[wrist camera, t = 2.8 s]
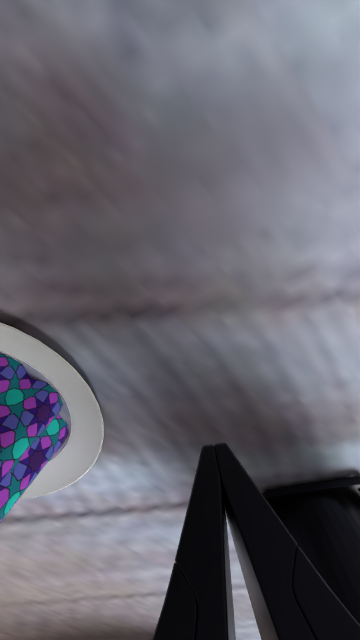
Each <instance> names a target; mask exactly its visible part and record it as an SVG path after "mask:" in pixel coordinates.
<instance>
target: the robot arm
mask: <svg viewBox="0 0 360 640" xmlns="http://www.w3.org/2000/svg"><path fill="white" fill-rule="evenodd" d="M225 511H226V513H225ZM226 516H227V519H228V523H229V527H230V530H231V534H232V537H233V541H234V545H235V548H236V552H237V555H238V559H239V562H240V566H241V569H242V573H243V576H244V580H245V583H246V587H247V590H248V594H249V597H250V601H251V604H252V608H253V611H254V615H255V618H256V622H257V625H258V629H259V632H260V636H261V640H360V477H356V478H349V479H342V480H335V481H328V482H321V483H314V484H307V485H300V486H293V487H286V488H279V489H272V490H267V491H265V492H264V493H263V495H262V493H261V492H260V491H259V489H258V488H257V486H256V485H255V483H254V482H253V481H252V479H251V478H250V476H249V475H248V474H247V472H246V471H245V469H244V468H243V467H242V465H241V464H240V462H239V461H238V459H237V458H236V457H235V455H234V454H233V452H232V451H231V450H230V448H229V447H228V445H227V444H226V443H219V444H215V446H214V445H205V446H203V447H202V450H201V454H200V459H199V463H198V467H197V471H196V475H195V479H194V483H193V488H192V492H191V496H190V500H189V504H188V508H187V512H186V516H185V521H184V525H183V529H182V533H181V537H180V541H179V545H178V550H177V554H176V558H175V562H176V563H174V566H173V570H172V574H171V578H170V582H169V586H168V589H167V593H166V597H165V601H164V604H163V608H162V611H161V614H160V617H159V621H158V624H157V627H156V630H155V633H154V637H153V640H236V636H235V623H234V610H233V598H232V585H231V572H230V559H229V546H228V533H227V522H226Z"/></svg>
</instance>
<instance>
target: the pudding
mask: <svg viewBox="0 0 360 640" xmlns="http://www.w3.org/2000/svg"><path fill="white" fill-rule="evenodd" d="M0 352H1V353H5V354H8V355H10V356H12V357H14V358H16V359H18V360H20V361H23V362H25V363H26V364H28V365H29V366H31V367H32V368H34V369H35V370H37V371H39V372H40V373H41V374H42V375H43V376H44V377H46V378H47V379H48V380H49V381H50V382H51V383H52V384H53V385H54V386H55V388H56V389H57V390H58V391H59V392H60V394H61V395H62V397H63V399H64V400H65V402H66V404H67V407H68V410H69V412H70V416H71V424H72V426H71V434H70V437H69V440H68V442H67V445H66V446H65V447H64V449H63V450H62V451H61V453H59V454H58V455H57V456H56V457H55V458H54V459H52V460H51V461H50V459H51V458H52V457H53V456H54V454H55V453H56V452H57V451H58V449H59V448H60V447H61V446H62V444H63V443H64V441H65V440H66V438H67V436H68V424H67V423H66V422H65V421H64V420H63V419H62V418H61V417H60V416H59V412H60V410H61V408H62V405H63V403H62V401H61V399H60V396H59V394H58V392H56V391H55V390H54V389H53V388H52V387H51V386H50V385H49V384H48V383H46V382H42V381H39V380H35V379H32V378H30V377H29V375H28V373H27V372H26V370H25V368H24V366H23V365H22V364H21V363H19V362H17V361H16V360H14V359H12V358H10V357H9V356H6V355H2V354H0V522H1V520H2V519H3V518H4V517H5V515H6V514H7V513H8V512H9V510H10V509H11V508H12V507H13V505H14V504H15V503H16V502H17V500H18V499H26V498H33V497H38V496H43V495H47V494H50V493H53V492H55V491H58V490H61V489H63V488H65V487H67V486H69V485H71V484H72V483H74V482H76V481H77V480H78V479H80V478H81V477H82V476H83V475H84V474H86V473H87V472H88V470H89V469H90V468H91V467H92V465H93V464H94V463H95V462H96V460H97V457H98V455H99V453H100V451H101V448H102V444H103V439H104V424H103V418H102V414H101V411H100V407H99V404H98V402H97V400H96V398H95V396H94V394H93V392H92V391H91V389H90V387H89V386H88V385H87V383H86V382H85V381H84V379H83V378H82V377H81V376H80V374H79V373H78V372H77V371H76V370H75V369H74V368H73V367H72V366H71V365H70V364H69V363H68V362H67V361H66V360H65V359H64V358H62V357H61V356H60V355H59V354H58V353H56V352H55V351H53V350H52V349H50V348H49V347H48V346H46V345H45V344H43V343H42V342H40V341H39V340H37V339H35V338H33V337H31V336H29V335H27V334H25V333H23V332H21V331H19V330H18V329H16V328H14V327H11V326H8V325H5V324H3V323H0Z"/></svg>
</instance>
